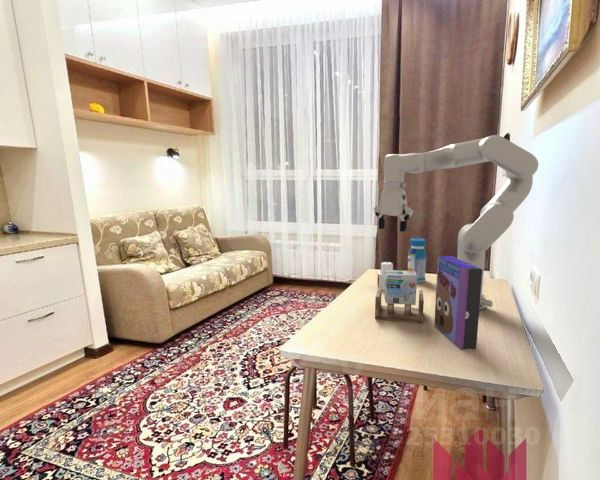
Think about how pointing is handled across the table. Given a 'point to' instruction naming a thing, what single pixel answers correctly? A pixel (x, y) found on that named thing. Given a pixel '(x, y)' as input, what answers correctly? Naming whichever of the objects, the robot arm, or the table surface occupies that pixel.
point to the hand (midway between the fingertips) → (391, 229)
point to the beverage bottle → (417, 258)
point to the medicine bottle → (384, 273)
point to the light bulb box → (400, 287)
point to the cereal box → (458, 301)
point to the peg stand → (399, 310)
